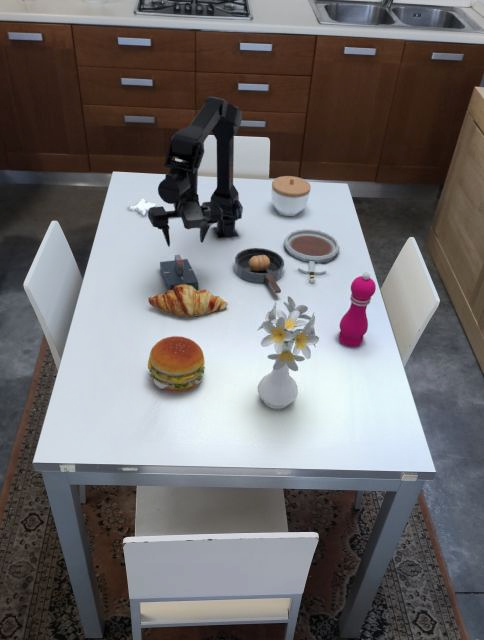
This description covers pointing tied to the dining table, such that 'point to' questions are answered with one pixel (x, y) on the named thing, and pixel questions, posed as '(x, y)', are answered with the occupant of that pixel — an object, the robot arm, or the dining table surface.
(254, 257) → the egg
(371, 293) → the pepper mill
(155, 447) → the dining table surface
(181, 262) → the hob knob
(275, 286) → the egg pan handle
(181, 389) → the burger
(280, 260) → the egg pan
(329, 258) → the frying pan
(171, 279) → the hob control
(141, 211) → the acanthus leaf ornament
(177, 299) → the croissant
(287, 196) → the lidded bowl
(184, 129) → the robot arm
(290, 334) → the flower vase
